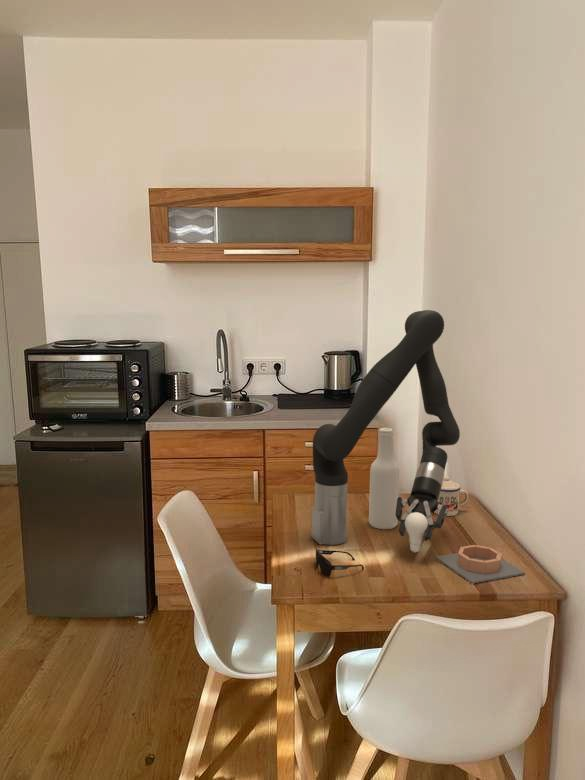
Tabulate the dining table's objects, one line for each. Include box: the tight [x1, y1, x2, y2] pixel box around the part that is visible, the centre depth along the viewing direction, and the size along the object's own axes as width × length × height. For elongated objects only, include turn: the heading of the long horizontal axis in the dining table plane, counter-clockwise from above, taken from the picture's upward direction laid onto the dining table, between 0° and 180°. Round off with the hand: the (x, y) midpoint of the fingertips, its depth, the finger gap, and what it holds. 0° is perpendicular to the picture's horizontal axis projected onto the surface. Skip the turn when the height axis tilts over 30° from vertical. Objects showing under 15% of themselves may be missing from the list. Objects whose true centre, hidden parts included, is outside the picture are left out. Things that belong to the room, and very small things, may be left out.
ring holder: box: [435, 544, 526, 584], centre depth 166 cm, size 16×16×4 cm
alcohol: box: [368, 427, 400, 530], centre depth 193 cm, size 9×9×30 cm
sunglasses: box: [315, 548, 365, 577], centre depth 165 cm, size 10×12×5 cm
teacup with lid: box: [433, 476, 469, 517], centre depth 207 cm, size 12×9×12 cm
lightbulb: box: [405, 512, 429, 553], centre depth 170 cm, size 6×6×11 cm
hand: (413, 537), depth 169 cm, fingers closed on lightbulb, 6 cm apart
